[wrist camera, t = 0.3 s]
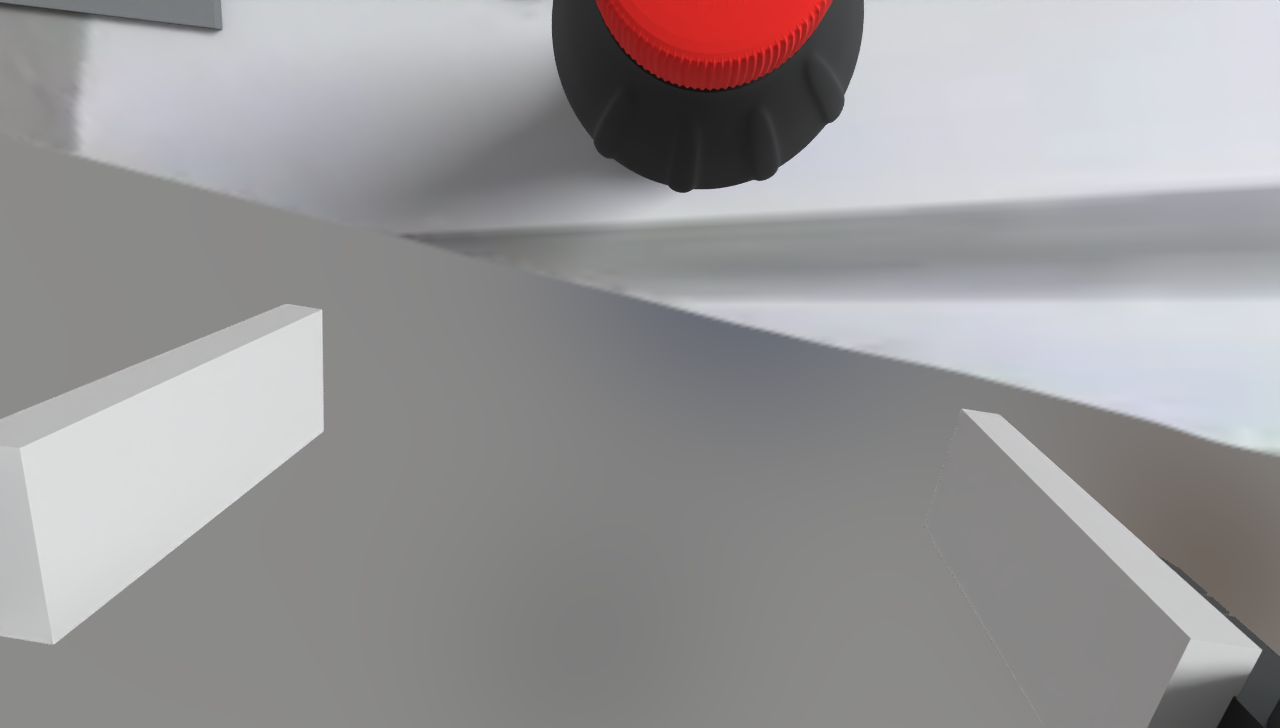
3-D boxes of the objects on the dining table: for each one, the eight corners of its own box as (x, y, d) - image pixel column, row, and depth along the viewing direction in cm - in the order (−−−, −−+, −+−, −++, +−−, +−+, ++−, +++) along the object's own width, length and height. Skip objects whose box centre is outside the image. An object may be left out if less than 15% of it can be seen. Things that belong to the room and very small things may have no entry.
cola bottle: (634, 177, 39) (483, 271, 11) (609, 16, 37) (331, -412, 8) (783, 154, 38) (1046, 188, 10) (768, -13, 36) (1063, -614, 7)
